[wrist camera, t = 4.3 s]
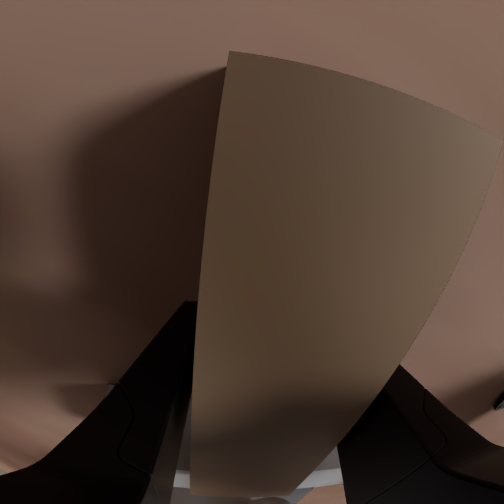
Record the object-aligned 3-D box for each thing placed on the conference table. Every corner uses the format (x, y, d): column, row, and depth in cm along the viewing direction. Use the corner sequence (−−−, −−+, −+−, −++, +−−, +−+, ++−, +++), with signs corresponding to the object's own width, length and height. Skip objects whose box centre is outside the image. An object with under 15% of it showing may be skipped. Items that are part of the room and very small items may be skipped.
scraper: (478, 137, 7) (593, 200, 4) (336, 424, 15) (353, 499, 11) (78, 60, 6) (-56, 75, 2) (116, 412, 13) (101, 494, 9)
